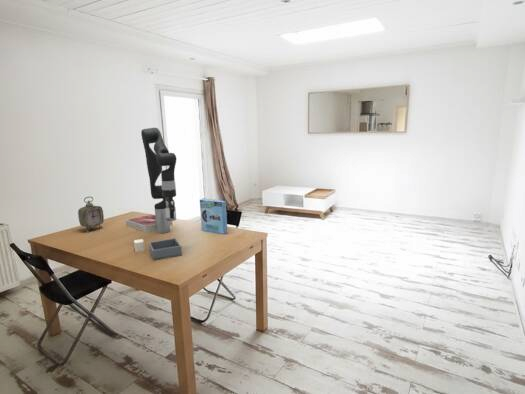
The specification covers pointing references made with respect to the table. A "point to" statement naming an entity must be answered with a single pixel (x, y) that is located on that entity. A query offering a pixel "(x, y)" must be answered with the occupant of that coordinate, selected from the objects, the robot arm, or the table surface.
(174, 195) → the robot arm
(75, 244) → the table surface
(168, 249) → the tote
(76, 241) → the table surface
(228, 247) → the table surface
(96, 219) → the tabletop clock
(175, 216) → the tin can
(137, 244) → the cream box
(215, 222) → the gum box
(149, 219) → the product packaging
